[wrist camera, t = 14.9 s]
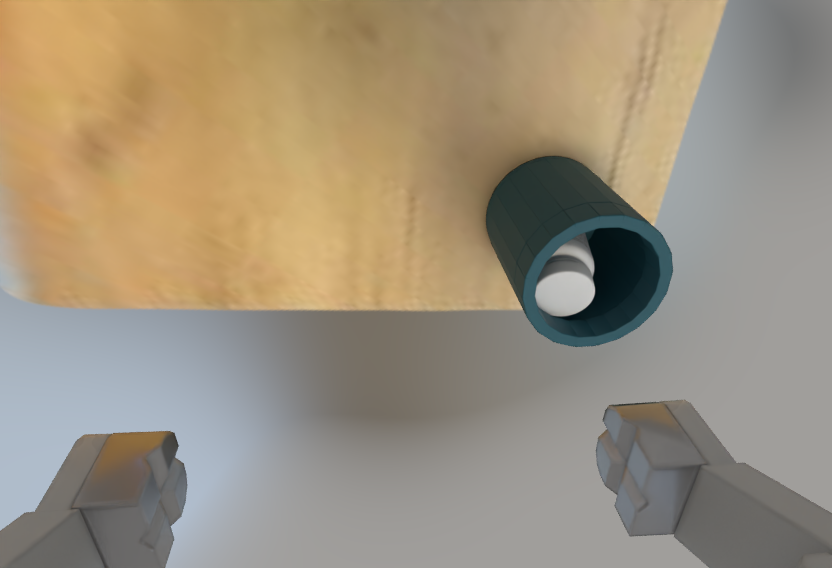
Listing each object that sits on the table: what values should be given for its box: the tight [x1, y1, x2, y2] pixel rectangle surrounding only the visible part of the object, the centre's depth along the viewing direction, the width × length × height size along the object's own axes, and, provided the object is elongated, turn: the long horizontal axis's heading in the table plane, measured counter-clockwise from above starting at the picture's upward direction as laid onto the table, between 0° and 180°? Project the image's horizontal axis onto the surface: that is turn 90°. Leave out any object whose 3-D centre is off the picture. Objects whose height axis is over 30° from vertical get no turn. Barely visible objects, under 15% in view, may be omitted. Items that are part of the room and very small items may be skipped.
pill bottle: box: [535, 233, 595, 316], centre depth 39 cm, size 5×5×8 cm
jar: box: [486, 156, 673, 347], centre depth 38 cm, size 9×9×11 cm
